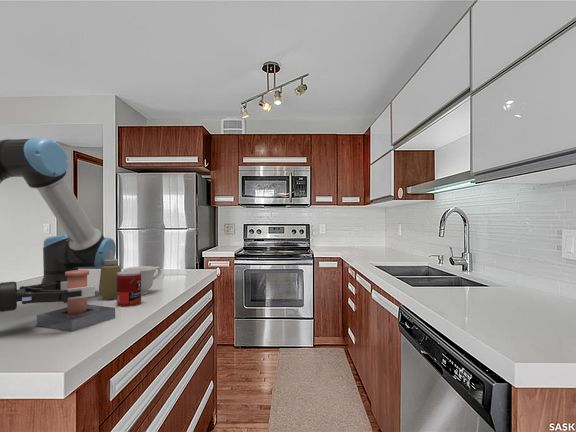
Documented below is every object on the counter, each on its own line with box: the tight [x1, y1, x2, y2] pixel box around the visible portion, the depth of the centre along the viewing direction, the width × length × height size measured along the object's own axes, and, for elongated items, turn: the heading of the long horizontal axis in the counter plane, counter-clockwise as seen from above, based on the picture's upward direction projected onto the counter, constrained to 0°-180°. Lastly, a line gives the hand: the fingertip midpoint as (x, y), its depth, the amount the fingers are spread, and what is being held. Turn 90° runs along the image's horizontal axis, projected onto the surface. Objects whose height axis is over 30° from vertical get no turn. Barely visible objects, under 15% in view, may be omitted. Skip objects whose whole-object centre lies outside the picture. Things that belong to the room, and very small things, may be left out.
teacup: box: [122, 265, 162, 296], centre depth 145 cm, size 12×15×10 cm
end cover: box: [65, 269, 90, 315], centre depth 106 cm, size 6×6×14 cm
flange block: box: [36, 303, 116, 332], centre depth 106 cm, size 14×14×3 cm
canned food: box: [116, 270, 142, 307], centre depth 127 cm, size 8×8×11 cm
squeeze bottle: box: [98, 250, 122, 301], centre depth 136 cm, size 8×8×18 cm
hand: (89, 287), depth 108 cm, fingers open, 13 cm apart
